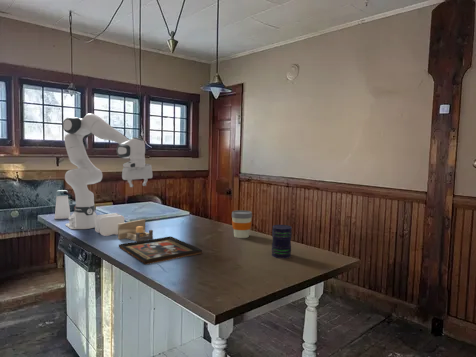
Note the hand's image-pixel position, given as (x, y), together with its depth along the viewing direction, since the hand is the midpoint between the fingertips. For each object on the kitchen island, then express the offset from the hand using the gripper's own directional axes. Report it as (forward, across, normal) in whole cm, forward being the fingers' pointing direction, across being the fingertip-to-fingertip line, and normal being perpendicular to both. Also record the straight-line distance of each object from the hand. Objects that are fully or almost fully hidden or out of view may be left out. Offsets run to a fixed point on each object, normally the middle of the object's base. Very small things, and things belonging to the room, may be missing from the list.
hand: (138, 186), depth 221 cm
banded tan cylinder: (+29, +8, +12) cm, 33 cm away
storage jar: (+29, -20, +92) cm, 99 cm away
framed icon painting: (+30, +15, +39) cm, 51 cm away
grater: (+29, +9, -80) cm, 86 cm away
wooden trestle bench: (+29, +8, +11) cm, 32 cm away
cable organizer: (+29, +13, -11) cm, 34 cm away
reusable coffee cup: (+29, -37, +53) cm, 71 cm away
